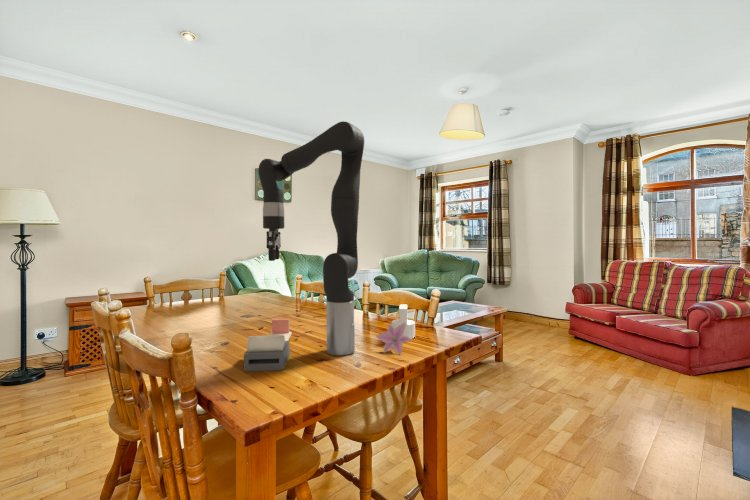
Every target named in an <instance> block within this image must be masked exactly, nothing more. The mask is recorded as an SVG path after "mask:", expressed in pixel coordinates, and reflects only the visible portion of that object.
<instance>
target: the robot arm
mask: <svg viewBox="0 0 750 500" xmlns="http://www.w3.org/2000/svg"><path fill="white" fill-rule="evenodd" d="M364 149H365V136H364V133H363V131H362V130H361V129H360V128H359V127H357V126H355V125H354V124H352V123H351V122H348V121H344V120H343V121H339V122H337V123H335V124H334V125H331V126H330V127H328V128H327V129H326V130H325V131H323V132H322V133H320V134H319V135H317V136H316V137H315V138H313V139H311V140H309V142H306V143H305V144H303V145H300V146H299V147H296V148H294V149H292V150H290V151H287V152H286V153H284V154H283V155H282V156H281V159H280V161H277V160H276V159H275V160H274V159H271V158H263V159H262V160H261V161H260V163H259V164H258V172H257V173H258V177H259V181H260V185H261V188H262V192H263V193H262V194H263V202H262V203H263V205H262V228H263V229H264V230H265V229H267V231H266V232H265V233H266V249H267V251H268V252H267V253H268V261H271V262H272V261H273V262H275V261H276V260H279V259H280V250H281V245H282V244H281V231H279V230H282V229H285V206H284V189H283V188H282V187H280V186H279V184H277V182H281V181H284V180H286V179H288V178H289V177H290V176H292V175H293V174H294V173H296V172H298V171H300V170H304V169H306V168H307V167H310V166H311V165H312V164H313V163H315V161H317V159H318V158H319V157H321V156H323V155H325V154H326V153H331V152H333V151H338V152H341V165H340V171H339V175H338V177H337V179H336V181H335V183H334V185H333V187H332V191H331V197H330V198H331V200H330V203H331V204H330V214H331V219H332V223H333V226H334V228H335V233H336V236H337V237H336V238H337V245H336V247H337V248H336V252H332V253H330V254H328V255H327V256H326V257H325V258H324V261H323V264H322V266H323V267H322V281H323V291H324V294H325V297H326V306H325V307H326V353H327V354H329V355H332V356H347V355H351V354H355V353H356V351H355V293H354V291H353V290H351V289H350V287H349V279H352V278H353V277H354V276H355V275H356V274H357V271H358V267H359V266H358V265H359V257H358V255H359V254H358V223H359V222H358V220H359V209H360V205H359V204H360V187H361V186H360V185H361V169H362V168H361V167H362V162H363V155H364Z"/></svg>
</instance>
